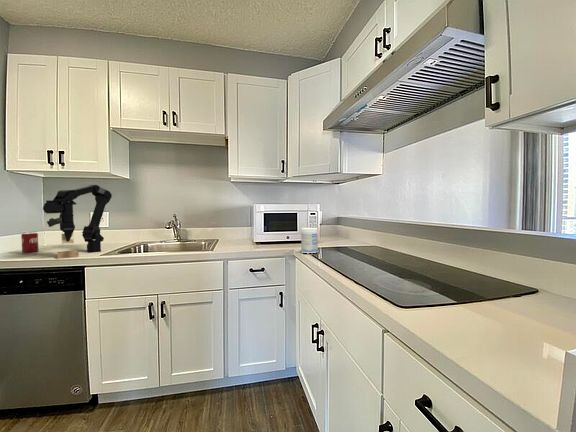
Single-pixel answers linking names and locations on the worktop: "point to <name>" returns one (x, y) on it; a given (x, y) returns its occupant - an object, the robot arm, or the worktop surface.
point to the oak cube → (65, 239)
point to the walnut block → (68, 254)
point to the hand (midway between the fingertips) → (67, 240)
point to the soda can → (29, 243)
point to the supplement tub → (309, 240)
